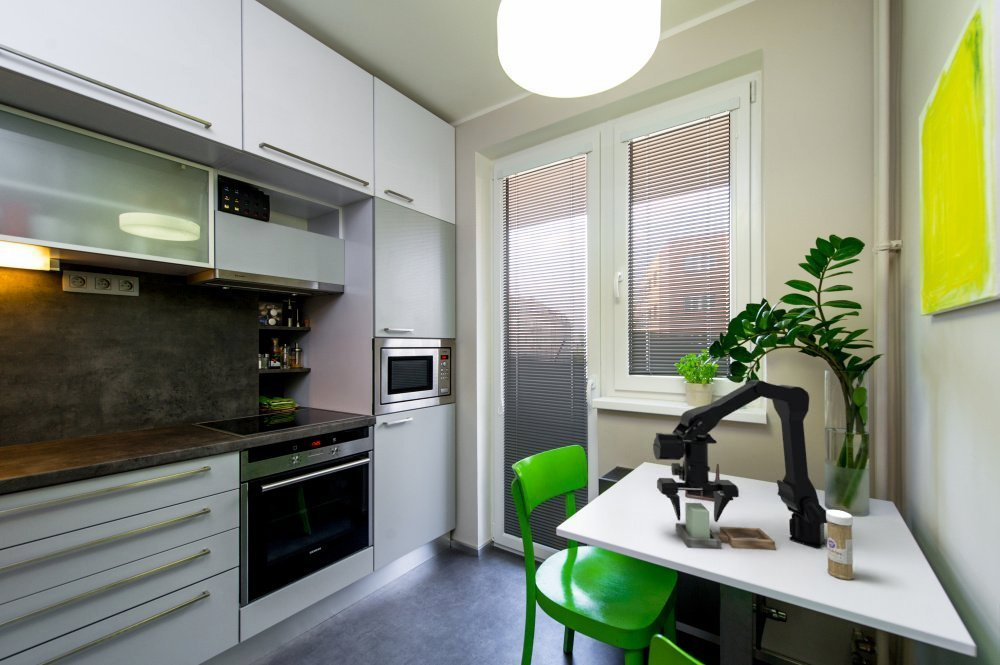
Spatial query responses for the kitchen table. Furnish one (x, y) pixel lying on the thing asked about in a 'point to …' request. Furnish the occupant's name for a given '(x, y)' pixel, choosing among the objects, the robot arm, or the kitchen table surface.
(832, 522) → the sprinkles bottle
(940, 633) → the kitchen table surface
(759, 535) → the joined double square frame
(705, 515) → the sage peg
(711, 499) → the letter holder
